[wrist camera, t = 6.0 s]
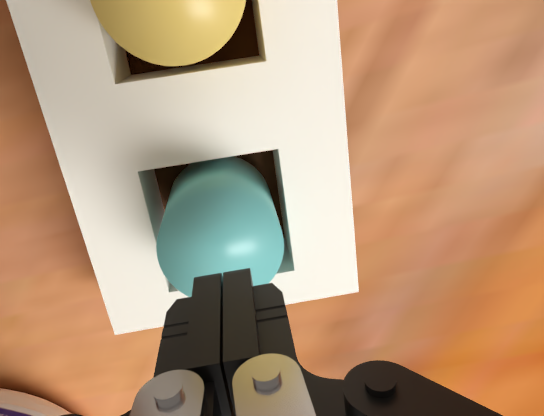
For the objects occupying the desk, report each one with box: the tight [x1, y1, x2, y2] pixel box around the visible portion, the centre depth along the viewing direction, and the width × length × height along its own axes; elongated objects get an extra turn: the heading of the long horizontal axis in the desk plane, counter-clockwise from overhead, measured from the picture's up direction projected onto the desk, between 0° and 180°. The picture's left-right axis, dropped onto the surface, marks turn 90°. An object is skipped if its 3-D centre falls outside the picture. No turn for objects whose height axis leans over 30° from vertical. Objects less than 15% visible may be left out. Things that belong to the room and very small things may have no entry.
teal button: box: [156, 156, 284, 297], centre depth 17 cm, size 4×4×4 cm
